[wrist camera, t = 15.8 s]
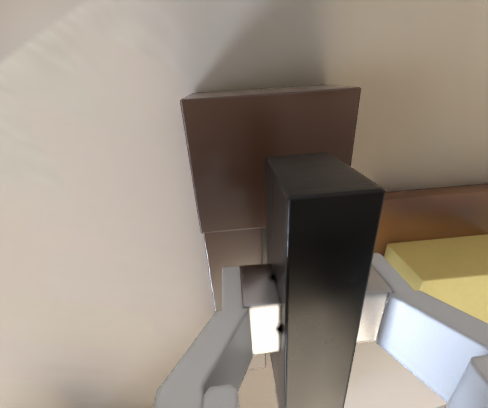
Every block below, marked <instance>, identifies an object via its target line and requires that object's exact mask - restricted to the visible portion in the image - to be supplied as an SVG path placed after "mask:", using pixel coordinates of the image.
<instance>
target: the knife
mask: <svg viewBox="0 0 488 408" xmlns="http://www.w3.org/2000/svg"><path fill="white" fill-rule="evenodd" d="M384 197H385V190H384V189H383V188H382V187H380V186H379V185H377V184H376V183H374V182H373V181H371V180H370V179H368V178H367V177H365V176H364V175H362V174H361V173H359V172H358V171H356V170H355V169H353V168H352V167H350V166H349V165H347V164H346V163H344V162H343V161H341V160H340V159H338V158H336V157H335V156H333V155H332V154H330V153H329V152H320V153H308V154H295V155H282V156H269V157H266V158H265V198H266V237H267V264H271V265H272V268H273V272H274V281H275V282H276V283H277V287H278V291H279V295H280V298H281V302H282V324H281V325H280V329H281V333H282V338H281V351H277V352H270V356H271V362H272V368H273V374H274V379H275V391H276V397H277V403H278V408H344V403H345V398H346V393H347V388H348V383H349V377H350V372H351V367H352V362H353V357H354V352H355V346H356V341H357V336H358V331H359V326H360V321H361V316H362V310H363V305H364V300H365V295H366V290H367V285H368V279H369V274H370V269H371V264H372V259H373V254H374V248H375V243H376V238H377V233H378V228H379V223H380V217H381V212H382V207H383V202H384Z"/></svg>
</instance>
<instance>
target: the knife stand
mask: <svg viewBox="0 0 488 408" xmlns="http://www.w3.org/2000/svg"><path fill="white" fill-rule="evenodd" d="M360 92H361V88H360V87H351V86H338V85H311V86H296V87H281V88H266V89H251V90H236V91H221V92H206V93H192V94H190V95H189V96H187V97H185V98H183V99H181V100H180V105H181V111H182V117H183V124H184V130H185V136H186V143H187V149H188V155H189V162H190V168H191V174H192V181H193V187H194V193H195V200H196V206H197V212H198V219H199V225H200V231H201V233H203V235H204V241H205V248H206V254H207V261H208V268H209V274H210V281H211V287H212V294H213V300H214V307H215V313H216V311H221V310H222V269H223V267H234V266H239V268H240V266H244V265H258V264H267V237H266V198H265V158H266V157H269V156H282V155H295V154H308V153H320V152H329V153H330V154H332V155H333V156H335V157H336V158H338V159H340V160H341V161H343V162H344V163H346V164H347V165H349V166H350V167H351V159H352V152H353V144H354V137H355V129H356V122H357V115H358V107H359V100H360ZM240 278H241V277H240ZM262 368H266V353H263V354H255V355H253V357H252V360H251V362H250V364H249V367H248V369H247V370H253V369H262Z"/></svg>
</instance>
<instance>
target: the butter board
mask: <svg viewBox="0 0 488 408" xmlns="http://www.w3.org/2000/svg"><path fill="white" fill-rule="evenodd" d="M485 234H488V184H481V185H469V186H457V187H446V188H434V189H422V190H410V191H399V192H387V193H385V197H384V202H383V207H382V212H381V217H380V223H379V228H378V233H377V238H376V243H375V248H374V253H379V254H381V255H382V256H383V257H384V254H385V250H386V245H387V244H388V243H399V242H410V241H421V240H431V239H442V238H453V237H464V236H474V235H485Z"/></svg>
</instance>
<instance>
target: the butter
mask: <svg viewBox="0 0 488 408" xmlns="http://www.w3.org/2000/svg"><path fill="white" fill-rule="evenodd" d="M384 258H385V259H386V260H387V261H388V262H389V263H390V265H391V266H392V267H393V268H394V269H395V270H396V271H397V272H398V273H399V274H400V276H401V277H402V278H403V279H404V280H405V281H406V282H407V283H408V284H409V285H410V287H411V288H412V289H413V290H414V291H418V290H420V291H422V292H424V293H426V294H428V295H430V296H432V297H434V298H437V299H439V300H441V301H443V302H445V303H447V304H449V305H451V306H453V307H455V308H457V309H459V310H461V311H463V312H465V313H467V314H469V315H471V316H473V317H475V318H477V319H479V320H482V321H484V322H486V323H488V234H485V235H474V236H464V237H453V238H442V239H431V240H421V241H410V242H399V243H388V244H387V245H386V250H385V254H384Z"/></svg>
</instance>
